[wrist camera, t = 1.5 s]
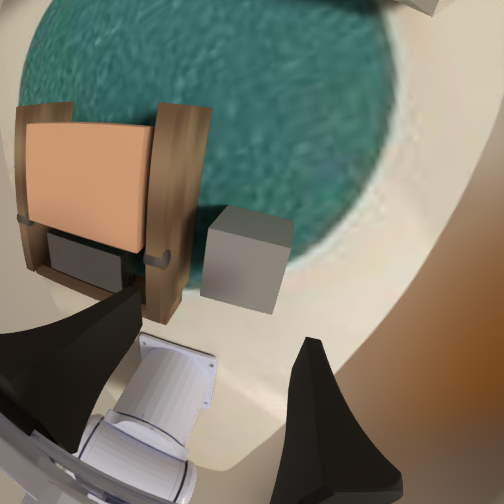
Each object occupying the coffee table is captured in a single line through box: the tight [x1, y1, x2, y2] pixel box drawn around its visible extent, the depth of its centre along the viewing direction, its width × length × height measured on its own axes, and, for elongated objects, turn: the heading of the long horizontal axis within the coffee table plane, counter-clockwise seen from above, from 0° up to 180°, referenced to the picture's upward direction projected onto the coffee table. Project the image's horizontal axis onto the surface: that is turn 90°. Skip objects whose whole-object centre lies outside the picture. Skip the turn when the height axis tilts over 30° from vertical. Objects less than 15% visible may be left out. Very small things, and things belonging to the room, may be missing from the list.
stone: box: [200, 205, 294, 315], centre depth 18 cm, size 4×4×4 cm
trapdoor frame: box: [15, 102, 212, 325], centre depth 18 cm, size 14×13×6 cm
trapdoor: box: [26, 122, 154, 293], centre depth 16 cm, size 11×10×2 cm
